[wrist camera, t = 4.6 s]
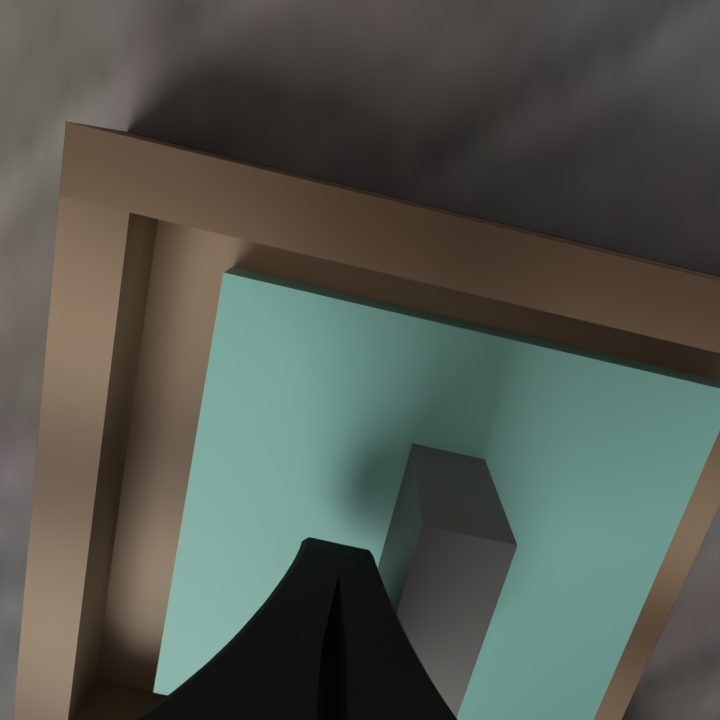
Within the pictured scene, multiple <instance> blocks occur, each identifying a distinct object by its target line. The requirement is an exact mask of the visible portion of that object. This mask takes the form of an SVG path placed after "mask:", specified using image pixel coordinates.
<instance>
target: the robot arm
mask: <svg viewBox="0 0 720 720" xmlns="http://www.w3.org/2000/svg"><path fill="white" fill-rule="evenodd" d="M134 720H457V718H456V717H455V716H454V714H453V713H452V711H451V710H450V708H449V707H448V705H447V704H446V702H445V701H444V699H443V698H442V696H441V695H440V693H439V692H438V690H437V688H436V687H435V685H434V684H433V682H432V680H431V679H430V677H429V675H428V674H427V672H426V670H425V668H424V667H423V665H422V663H421V661H420V660H419V658H418V656H417V654H416V652H415V651H414V649H413V647H412V645H411V643H410V641H409V639H408V637H407V635H406V633H405V631H404V629H403V627H402V625H401V623H400V621H399V618H398V616H397V614H396V612H395V610H394V608H393V606H392V603H391V601H390V599H389V596H388V594H387V591H386V589H385V587H384V584H383V582H382V579H381V576H380V574H379V571H378V568H377V565H376V562H375V559H374V556H373V555H372V553H371V552H370V550H367V549H362V548H358V547H353V546H348V545H344V544H339V543H334V542H330V541H325V540H321V539H316V538H311V537H308V538H306V539H305V540H303V541H302V542H301V546H300V549H299V551H298V553H297V555H296V557H295V559H294V561H293V562H292V564H291V566H290V567H289V569H288V570H287V572H286V574H285V575H284V577H283V578H282V579H281V581H280V582H279V584H278V585H277V586H276V588H275V589H274V590H273V592H272V593H271V594H270V596H269V597H268V599H267V600H266V601H265V602H264V604H263V605H262V606H261V607H260V608H259V609H258V611H257V612H256V613H255V614H254V615H253V616H252V617H251V619H250V620H249V621H248V622H247V623H246V624H245V625H244V627H243V628H242V629H241V630H240V631H239V632H238V633H237V634H236V635H235V636H234V637H233V638H232V639H231V640H230V641H229V642H228V643H227V644H226V645H225V646H224V647H223V648H222V649H221V650H220V651H219V652H218V653H217V654H216V655H215V656H214V657H213V658H212V659H211V660H210V661H209V662H207V663H206V664H205V665H204V666H203V667H202V668H201V669H199V670H198V671H197V672H196V673H195V674H193V675H192V676H191V677H190V678H189V679H188V680H186V681H185V682H184V683H183V684H182V685H180V686H179V687H178V688H177V689H175V690H174V691H173V692H172V693H170V694H169V695H168V696H166V697H165V698H164V699H162V700H161V701H160V702H158V703H157V704H156V705H154V706H153V707H151V708H150V709H148V710H147V711H145V712H144V713H142V714H141V715H140V716H138V717H137V718H135V719H134Z"/></svg>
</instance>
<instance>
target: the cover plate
mask: <svg viewBox="0 0 720 720" xmlns="http://www.w3.org/2000/svg"><path fill="white" fill-rule="evenodd" d="M719 431H720V382H719V381H717V380H715V379H712V378H708V377H704V376H699V375H695V374H691V373H686V372H682V371H678V370H674V369H669V368H665V367H661V366H657V365H652V364H648V363H644V362H639V361H635V360H631V359H627V358H622V357H618V356H614V355H610V354H605V353H601V352H597V351H592V350H588V349H584V348H580V347H575V346H571V345H567V344H563V343H558V342H554V341H550V340H546V339H541V338H537V337H533V336H528V335H524V334H520V333H516V332H511V331H507V330H503V329H499V328H494V327H490V326H486V325H481V324H477V323H473V322H469V321H464V320H460V319H456V318H452V317H447V316H443V315H439V314H434V313H430V312H426V311H422V310H417V309H413V308H409V307H405V306H400V305H396V304H392V303H387V302H383V301H379V300H375V299H370V298H366V297H362V296H358V295H353V294H349V293H345V292H340V291H336V290H332V289H328V288H323V287H319V286H315V285H311V284H306V283H302V282H298V281H293V280H289V279H285V278H281V277H276V276H272V275H268V274H264V273H259V272H255V271H251V270H246V269H242V268H238V267H234V266H233V267H231V268H230V269H228V270H227V271H225V272H223V278H222V284H221V290H220V296H219V302H218V308H217V314H216V320H215V326H214V332H213V338H212V344H211V350H210V356H209V362H208V368H207V374H206V380H205V386H204V392H203V398H202V404H201V410H200V416H199V422H198V428H197V434H196V440H195V446H194V451H193V457H192V463H191V469H190V475H189V481H188V487H187V493H186V499H185V505H184V511H183V517H182V523H181V529H180V535H179V541H178V547H177V553H176V559H175V565H174V571H173V577H172V583H171V589H170V595H169V601H168V607H167V613H166V619H165V625H164V631H163V637H162V643H161V649H160V655H159V661H158V667H157V673H156V679H155V685H154V691H153V693H158V694H163V695H169V694H170V693H172V692H173V691H174V690H175V689H177V688H178V687H179V686H180V685H182V684H183V683H184V682H185V681H186V680H188V679H189V678H190V677H191V676H192V675H193V674H195V673H196V672H197V671H198V670H199V669H201V668H202V667H203V666H204V665H205V664H206V663H207V662H209V661H210V660H211V659H212V658H213V657H214V656H215V655H216V654H217V653H218V652H219V651H220V650H221V649H222V648H223V647H224V646H225V645H226V644H227V643H228V642H229V641H230V640H231V639H232V638H233V637H234V636H235V635H236V634H237V633H238V632H239V631H240V630H241V629H242V628H243V627H244V625H245V624H246V623H247V622H248V621H249V620H250V619H251V617H252V616H253V615H254V614H255V613H256V612H257V611H258V609H259V608H260V607H261V606H262V605H263V604H264V602H265V601H266V600H267V599H268V597H269V596H270V594H271V593H272V592H273V590H274V589H275V588H276V586H277V585H278V584H279V582H280V581H281V579H282V578H283V577H284V575H285V574H286V572H287V570H288V569H289V567H290V566H291V564H292V562H293V561H294V559H295V557H296V555H297V553H298V551H299V549H300V546H301V542H302V541H303V540H305V539H306V538H308V537H311V538H316V539H321V540H325V541H330V542H334V543H339V544H344V545H348V546H353V547H358V548H362V549H367V550H370V552H371V553H372V555H373V556H374V559H375V562H376V565H377V568H378V571H379V574H380V576H381V579H382V582H383V584H384V587H385V589H386V591H387V594H388V596H389V599H390V601H391V603H392V606H393V608H394V610H395V612H396V614H397V616H398V618H399V621H400V623H401V625H402V627H403V629H404V631H405V633H406V635H407V637H408V639H409V641H410V643H411V645H412V647H413V649H414V651H415V652H416V654H417V656H418V658H419V660H420V661H421V663H422V665H423V667H424V668H425V670H426V672H427V674H428V675H429V677H430V679H431V680H432V682H433V684H434V685H435V687H436V688H437V690H438V692H439V693H440V695H441V696H442V698H443V699H444V701H445V702H446V704H447V705H448V707H449V708H450V710H451V711H452V713H453V714H454V716H455V717H456V718H457V720H594V718H595V715H596V713H597V711H598V708H599V706H600V704H601V702H602V699H603V697H604V695H605V692H606V690H607V688H608V685H609V683H610V681H611V679H612V676H613V674H614V672H615V669H616V667H617V665H618V663H619V660H620V658H621V656H622V653H623V651H624V649H625V646H626V644H627V642H628V640H629V637H630V635H631V633H632V630H633V628H634V626H635V624H636V621H637V619H638V617H639V614H640V612H641V610H642V608H643V605H644V603H645V601H646V598H647V596H648V594H649V591H650V589H651V587H652V585H653V582H654V580H655V578H656V575H657V573H658V571H659V569H660V566H661V564H662V562H663V559H664V557H665V555H666V552H667V550H668V548H669V546H670V543H671V541H672V539H673V536H674V534H675V532H676V530H677V527H678V525H679V523H680V520H681V518H682V516H683V514H684V511H685V509H686V507H687V504H688V502H689V500H690V497H691V495H692V493H693V491H694V488H695V486H696V484H697V481H698V479H699V477H700V475H701V472H702V470H703V468H704V465H705V463H706V461H707V458H708V456H709V454H710V452H711V449H712V447H713V445H714V442H715V440H716V438H717V436H718V433H719Z"/></svg>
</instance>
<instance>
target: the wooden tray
mask: <svg viewBox="0 0 720 720" xmlns="http://www.w3.org/2000/svg"><path fill="white" fill-rule="evenodd" d="M233 266H234V267H238V268H242V269H246V270H251V271H255V272H259V273H264V274H268V275H272V276H276V277H281V278H285V279H289V280H293V281H298V282H302V283H306V284H311V285H315V286H319V287H323V288H328V289H332V290H336V291H340V292H345V293H349V294H353V295H358V296H362V297H366V298H370V299H375V300H379V301H383V302H387V303H392V304H396V305H400V306H405V307H409V308H413V309H417V310H422V311H426V312H430V313H434V314H439V315H443V316H447V317H452V318H456V319H460V320H464V321H469V322H473V323H477V324H481V325H486V326H490V327H494V328H499V329H503V330H507V331H511V332H516V333H520V334H524V335H528V336H533V337H537V338H541V339H546V340H550V341H554V342H558V343H563V344H567V345H571V346H575V347H580V348H584V349H588V350H592V351H597V352H601V353H605V354H610V355H614V356H618V357H622V358H627V359H631V360H635V361H639V362H644V363H648V364H652V365H657V366H661V367H665V368H669V369H674V370H678V371H682V372H686V373H691V374H695V375H699V376H704V377H708V378H712V379H715V380H717V381H719V382H720V277H719V276H715V275H711V274H707V273H703V272H699V271H695V270H691V269H687V268H682V267H678V266H674V265H670V264H666V263H662V262H658V261H654V260H650V259H646V258H642V257H637V256H633V255H629V254H625V253H621V252H617V251H613V250H609V249H605V248H601V247H596V246H592V245H588V244H584V243H580V242H576V241H572V240H568V239H564V238H560V237H555V236H551V235H547V234H543V233H539V232H535V231H531V230H527V229H523V228H519V227H514V226H510V225H506V224H502V223H498V222H494V221H490V220H486V219H482V218H478V217H473V216H469V215H465V214H461V213H457V212H453V211H449V210H445V209H441V208H437V207H432V206H428V205H424V204H420V203H416V202H412V201H408V200H404V199H400V198H396V197H391V196H387V195H383V194H379V193H375V192H371V191H367V190H363V189H359V188H355V187H350V186H346V185H342V184H338V183H334V182H330V181H326V180H322V179H318V178H314V177H309V176H305V175H301V174H297V173H293V172H289V171H285V170H281V169H277V168H273V167H268V166H264V165H260V164H256V163H252V162H248V161H244V160H240V159H236V158H232V157H227V156H223V155H219V154H215V153H211V152H207V151H203V150H199V149H195V148H191V147H187V146H182V145H178V144H174V143H170V142H166V141H162V140H158V139H154V138H150V137H146V136H141V135H137V134H133V133H129V132H125V131H119V130H113V129H107V128H101V127H95V126H89V125H83V124H77V123H71V122H66V127H65V138H64V149H63V160H62V172H61V183H60V194H59V206H58V217H57V228H56V240H55V251H54V262H53V273H52V285H51V296H50V307H49V319H48V330H47V341H46V353H45V364H44V375H43V386H42V398H41V409H40V420H39V432H38V443H37V454H36V465H35V477H34V488H33V499H32V511H31V522H30V533H29V545H28V556H27V567H26V578H25V590H24V601H23V612H22V624H21V635H20V646H19V658H18V669H17V680H16V691H15V703H14V714H13V720H134V719H135V718H137V717H138V716H140V715H141V714H142V713H144V712H145V711H147V710H148V709H150V708H151V707H153V706H154V705H156V704H157V703H158V702H160V701H161V700H162V699H164V698H165V697H166V696H168V695H163V694H158V693H153V691H154V685H155V679H156V673H157V667H158V661H159V655H160V649H161V643H162V637H163V631H164V625H165V619H166V613H167V607H168V601H169V595H170V589H171V583H172V577H173V571H174V565H175V559H176V553H177V547H178V541H179V535H180V529H181V523H182V517H183V511H184V505H185V499H186V493H187V487H188V481H189V475H190V469H191V463H192V457H193V451H194V446H195V440H196V434H197V428H198V422H199V416H200V410H201V404H202V398H203V392H204V386H205V380H206V374H207V368H208V362H209V356H210V350H211V344H212V338H213V332H214V326H215V320H216V314H217V308H218V302H219V296H220V290H221V284H222V278H223V272H225V271H227V270H228V269H230V268H231V267H233ZM719 505H720V431H719V433H718V436H717V438H716V440H715V442H714V445H713V447H712V449H711V452H710V454H709V456H708V458H707V461H706V463H705V465H704V468H703V470H702V472H701V475H700V477H699V479H698V481H697V484H696V486H695V488H694V491H693V493H692V495H691V497H690V500H689V502H688V504H687V507H686V509H685V511H684V514H683V516H682V518H681V520H680V523H679V525H678V527H677V530H676V532H675V534H674V536H673V539H672V541H671V543H670V546H669V548H668V550H667V552H666V555H665V557H664V559H663V562H662V564H661V566H660V569H659V571H658V573H657V575H656V578H655V580H654V582H653V585H652V587H651V589H650V591H649V594H648V596H647V598H646V601H645V603H644V605H643V608H642V610H641V612H640V614H639V617H638V619H637V621H636V624H635V626H634V628H633V630H632V633H631V635H630V637H629V640H628V642H627V644H626V646H625V649H624V651H623V653H622V656H621V658H620V660H619V663H618V665H617V667H616V669H615V672H614V674H613V676H612V679H611V681H610V683H609V685H608V688H607V690H606V692H605V695H604V697H603V699H602V702H601V704H600V706H599V708H598V711H597V713H596V715H595V718H594V720H622V717H623V715H624V713H625V711H626V709H627V706H628V704H629V702H630V700H631V698H632V696H633V693H634V691H635V689H636V687H637V685H638V682H639V680H640V678H641V676H642V674H643V671H644V669H645V667H646V665H647V663H648V661H649V658H650V656H651V654H652V652H653V650H654V647H655V645H656V643H657V641H658V639H659V636H660V634H661V632H662V630H663V628H664V626H665V623H666V621H667V619H668V617H669V615H670V612H671V610H672V608H673V606H674V604H675V601H676V599H677V597H678V595H679V593H680V590H681V588H682V586H683V584H684V582H685V580H686V577H687V575H688V573H689V571H690V569H691V566H692V564H693V562H694V560H695V558H696V555H697V553H698V551H699V549H700V547H701V545H702V542H703V540H704V538H705V536H706V534H707V531H708V529H709V527H710V525H711V523H712V520H713V518H714V516H715V514H716V512H717V510H718V507H719Z"/></svg>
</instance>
